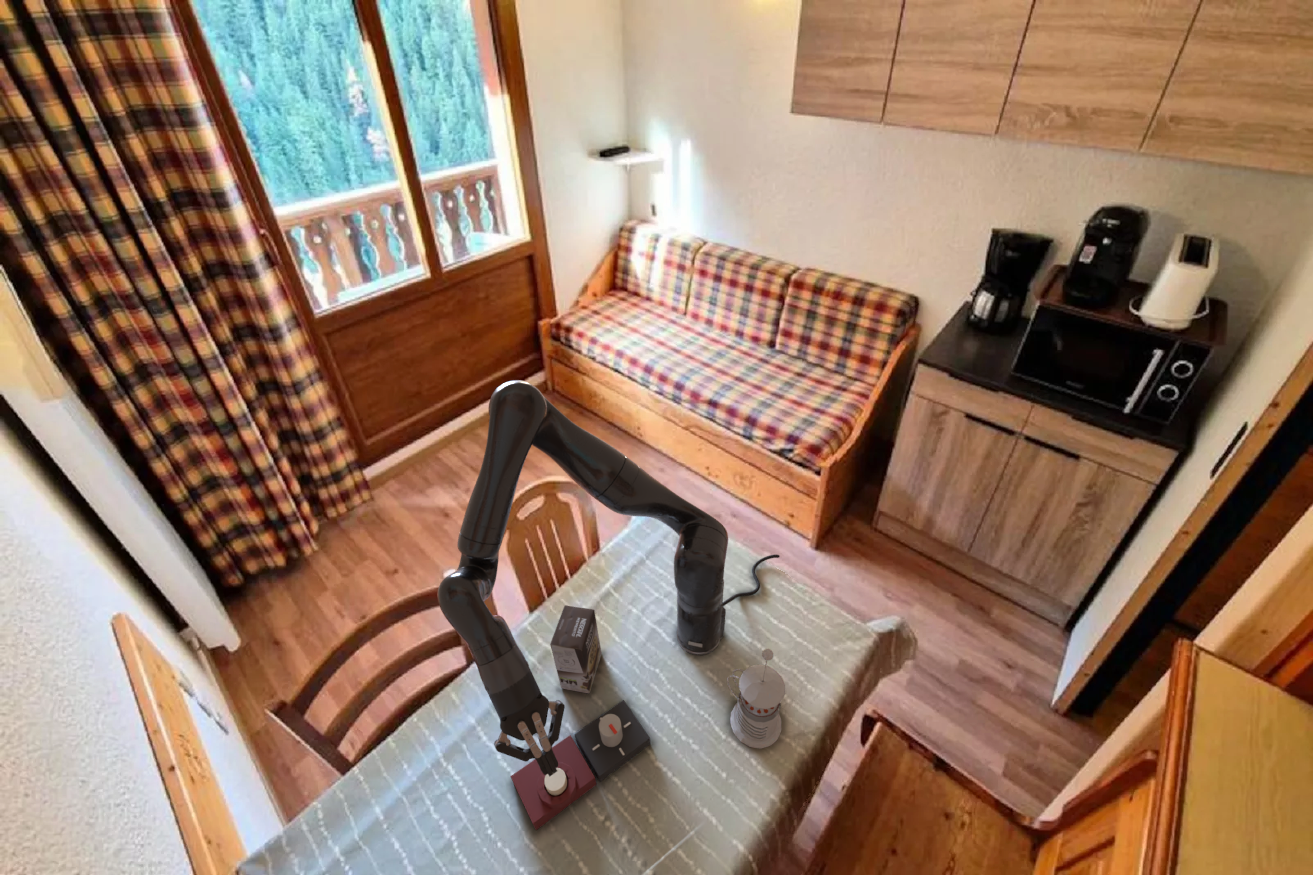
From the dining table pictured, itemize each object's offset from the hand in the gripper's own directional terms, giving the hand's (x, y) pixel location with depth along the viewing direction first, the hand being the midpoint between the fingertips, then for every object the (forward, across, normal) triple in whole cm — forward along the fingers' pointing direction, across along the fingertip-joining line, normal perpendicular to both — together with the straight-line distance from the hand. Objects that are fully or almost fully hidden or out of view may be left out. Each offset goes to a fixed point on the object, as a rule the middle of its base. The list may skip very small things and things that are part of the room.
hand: (552, 772), depth 95 cm
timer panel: (+5, -12, -8) cm, 15 cm away
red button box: (+5, 0, -8) cm, 9 cm away
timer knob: (+3, -12, -6) cm, 14 cm away
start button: (+3, 0, -3) cm, 4 cm away
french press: (+14, -36, +1) cm, 39 cm away
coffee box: (-6, -15, -19) cm, 25 cm away
